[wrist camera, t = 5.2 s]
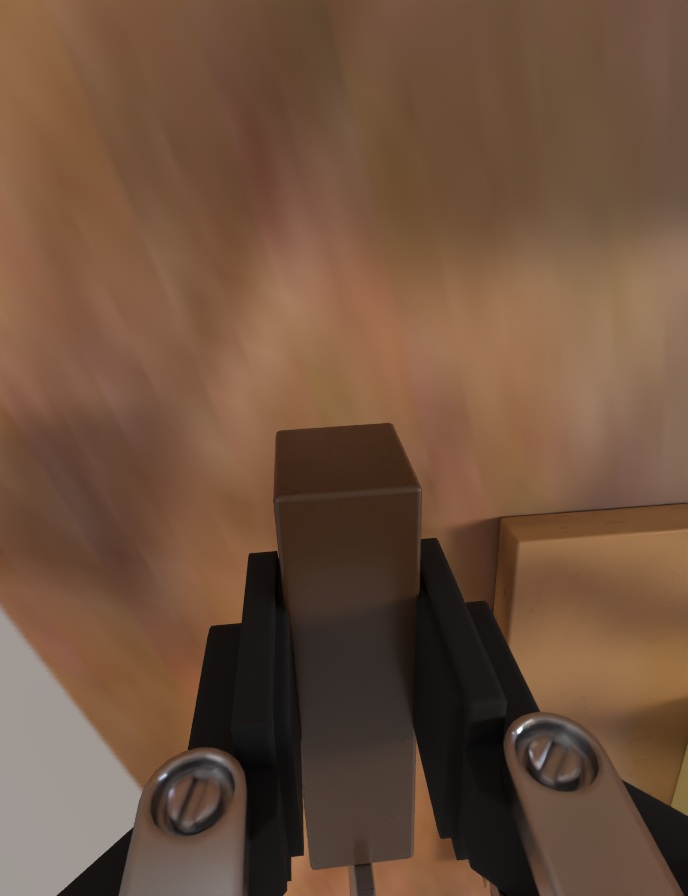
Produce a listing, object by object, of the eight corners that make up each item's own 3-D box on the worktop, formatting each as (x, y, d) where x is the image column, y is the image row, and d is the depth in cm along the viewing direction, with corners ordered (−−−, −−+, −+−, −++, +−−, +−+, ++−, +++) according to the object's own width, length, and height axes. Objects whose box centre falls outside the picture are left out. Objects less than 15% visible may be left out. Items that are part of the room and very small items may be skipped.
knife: (275, 429, 11) (272, 520, 8) (393, 420, 11) (433, 507, 8) (326, 969, 18) (333, 1115, 16) (393, 960, 19) (413, 1102, 16)
